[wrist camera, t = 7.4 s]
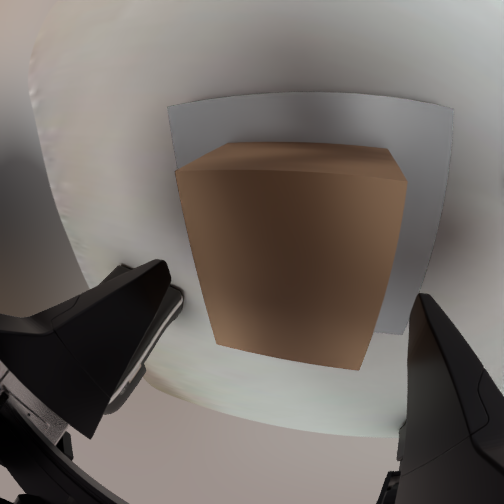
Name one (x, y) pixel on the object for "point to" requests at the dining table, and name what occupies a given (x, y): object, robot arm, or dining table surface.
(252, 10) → the dining table surface
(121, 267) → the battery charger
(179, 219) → the dining table surface
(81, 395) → the robot arm
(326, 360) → the walnut block
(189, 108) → the slate base
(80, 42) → the dining table surface
